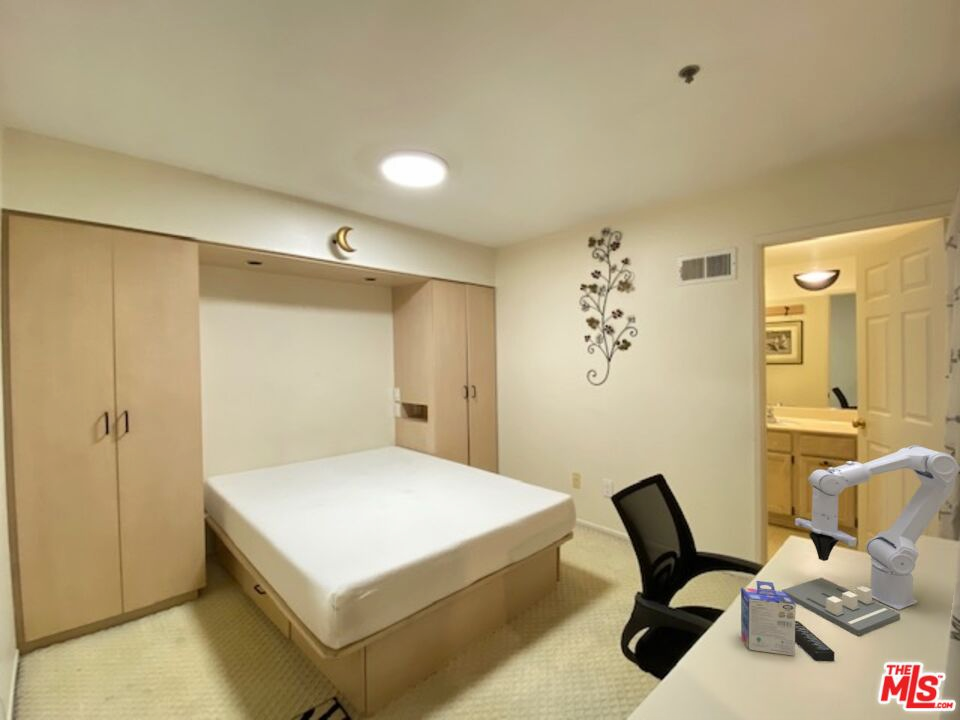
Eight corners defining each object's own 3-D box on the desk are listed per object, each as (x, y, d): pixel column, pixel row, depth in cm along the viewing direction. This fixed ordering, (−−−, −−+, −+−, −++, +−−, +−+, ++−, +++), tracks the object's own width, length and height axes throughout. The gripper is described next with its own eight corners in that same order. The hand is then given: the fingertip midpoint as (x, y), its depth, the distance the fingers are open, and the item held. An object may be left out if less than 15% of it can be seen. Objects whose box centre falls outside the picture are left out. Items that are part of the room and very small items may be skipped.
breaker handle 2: (860, 596, 115) (860, 584, 115) (873, 602, 112) (874, 590, 112) (853, 598, 114) (854, 587, 114) (867, 604, 111) (867, 593, 111)
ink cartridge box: (784, 640, 100) (785, 581, 99) (796, 657, 94) (798, 594, 94) (738, 634, 102) (740, 576, 101) (748, 650, 96) (750, 589, 96)
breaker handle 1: (831, 606, 110) (831, 594, 110) (844, 613, 107) (844, 601, 107) (823, 609, 109) (824, 597, 109) (837, 616, 106) (837, 604, 106)
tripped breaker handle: (846, 601, 112) (846, 589, 112) (859, 608, 110) (860, 596, 109) (839, 604, 111) (839, 592, 111) (852, 610, 108) (853, 598, 108)
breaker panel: (821, 582, 125) (821, 577, 124) (899, 619, 108) (900, 613, 108) (781, 595, 118) (781, 589, 118) (858, 636, 101) (858, 630, 101)
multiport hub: (815, 662, 93) (816, 652, 93) (780, 629, 104) (780, 620, 104) (835, 662, 93) (835, 652, 93) (797, 629, 104) (798, 620, 104)
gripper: (788, 505, 124) (787, 550, 125) (846, 525, 111) (844, 575, 111) (804, 502, 127) (802, 546, 127) (861, 521, 114) (860, 569, 114)
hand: (823, 559), depth 120 cm, fingers closed
